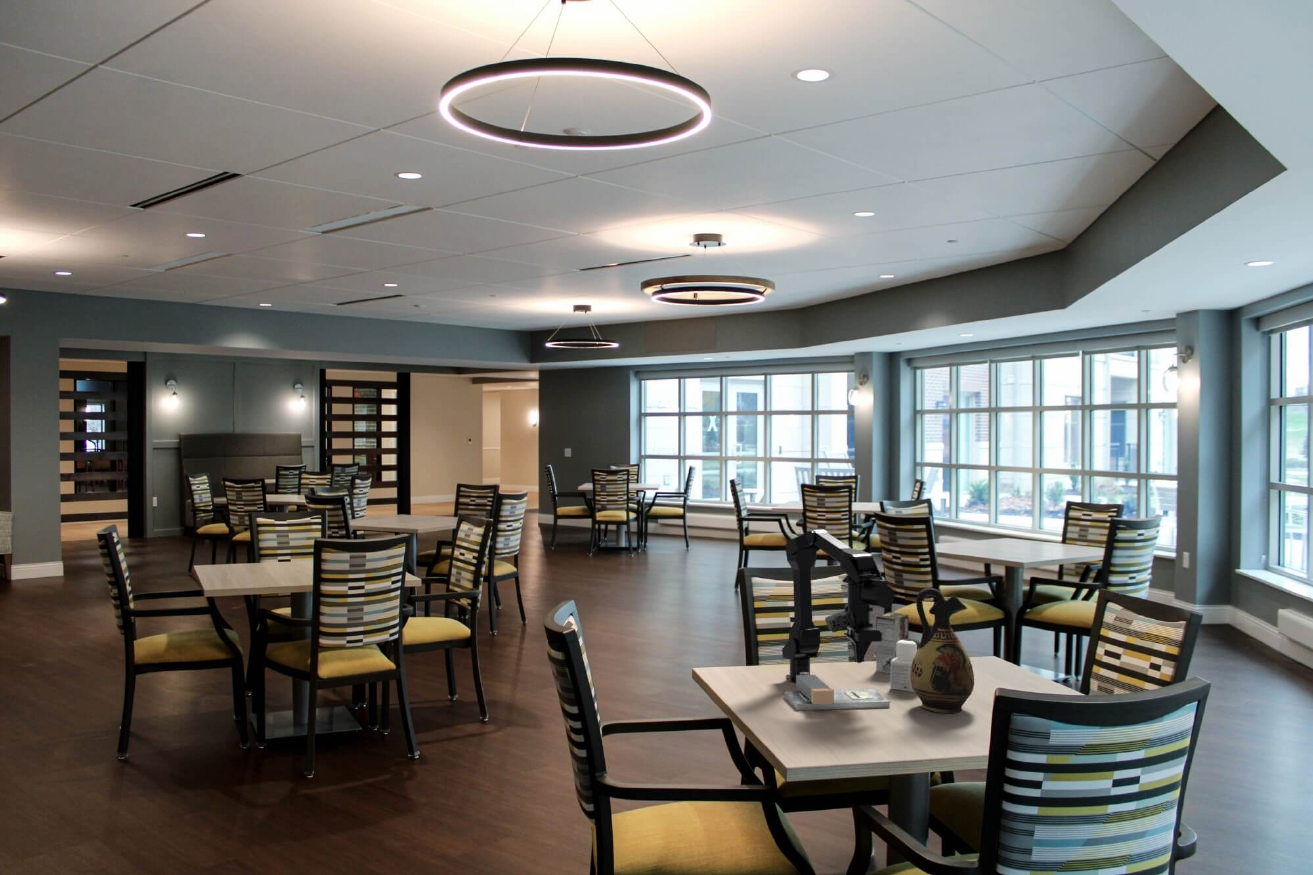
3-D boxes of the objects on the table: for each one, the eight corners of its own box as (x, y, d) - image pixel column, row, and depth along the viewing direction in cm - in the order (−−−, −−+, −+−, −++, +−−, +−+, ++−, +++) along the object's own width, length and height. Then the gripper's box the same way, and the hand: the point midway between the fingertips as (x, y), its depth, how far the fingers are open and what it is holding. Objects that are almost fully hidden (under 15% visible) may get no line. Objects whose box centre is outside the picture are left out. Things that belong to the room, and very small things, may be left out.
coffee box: (889, 665, 286) (889, 611, 287) (909, 668, 282) (909, 614, 282) (875, 671, 279) (875, 615, 279) (895, 674, 275) (895, 618, 275)
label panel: (784, 697, 250) (784, 690, 250) (873, 694, 253) (873, 688, 253) (796, 710, 239) (796, 702, 239) (889, 707, 241) (889, 700, 241)
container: (898, 682, 266) (898, 636, 266) (926, 686, 262) (926, 639, 262) (890, 689, 259) (890, 640, 259) (918, 692, 255) (918, 644, 255)
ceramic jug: (972, 702, 246) (972, 585, 246) (975, 719, 231) (975, 595, 231) (904, 697, 251) (904, 583, 251) (903, 713, 236) (903, 591, 236)
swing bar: (793, 692, 255) (793, 672, 255) (812, 691, 255) (812, 671, 255) (813, 711, 236) (813, 690, 236) (833, 711, 237) (833, 689, 237)
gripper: (818, 596, 255) (818, 655, 255) (839, 608, 237) (839, 672, 236) (858, 595, 256) (858, 654, 256) (883, 608, 238) (882, 671, 238)
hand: (858, 662), depth 247 cm, fingers closed
